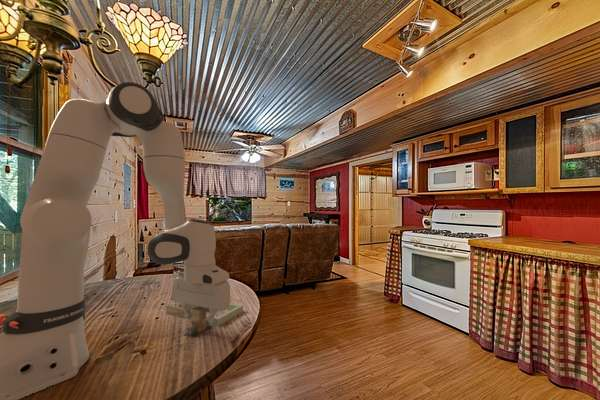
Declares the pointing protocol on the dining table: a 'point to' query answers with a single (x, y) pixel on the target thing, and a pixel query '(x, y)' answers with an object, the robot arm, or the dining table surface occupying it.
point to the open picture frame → (227, 314)
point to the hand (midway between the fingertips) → (199, 319)
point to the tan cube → (189, 305)
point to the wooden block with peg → (198, 321)
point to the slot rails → (175, 311)
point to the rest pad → (197, 333)
